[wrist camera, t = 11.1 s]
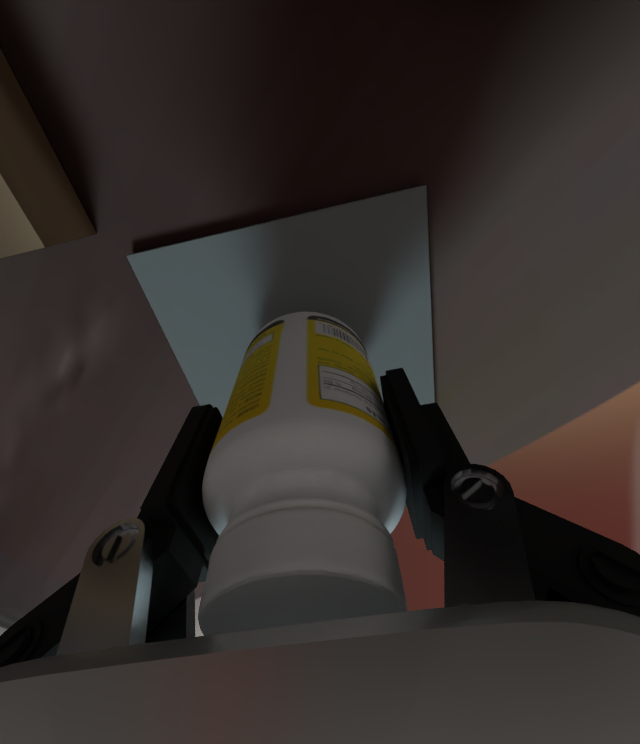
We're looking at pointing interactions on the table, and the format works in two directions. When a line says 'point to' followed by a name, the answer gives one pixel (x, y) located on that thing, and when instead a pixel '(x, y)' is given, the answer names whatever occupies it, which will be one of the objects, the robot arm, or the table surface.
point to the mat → (299, 288)
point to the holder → (32, 180)
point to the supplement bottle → (302, 485)
